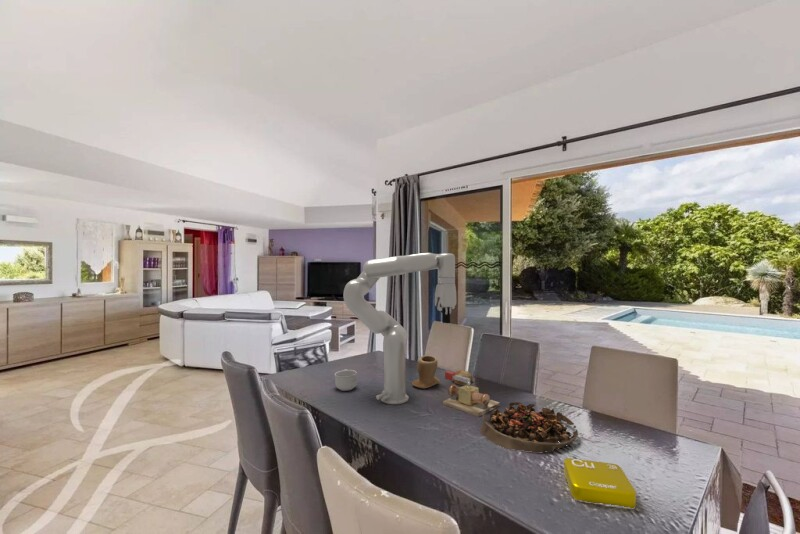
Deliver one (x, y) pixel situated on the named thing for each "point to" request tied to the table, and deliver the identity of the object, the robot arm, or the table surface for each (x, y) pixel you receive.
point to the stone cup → (426, 372)
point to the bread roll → (463, 374)
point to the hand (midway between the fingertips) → (446, 322)
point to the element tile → (599, 482)
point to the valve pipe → (469, 395)
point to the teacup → (346, 379)
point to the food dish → (527, 428)
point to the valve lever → (456, 377)
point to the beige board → (467, 408)
